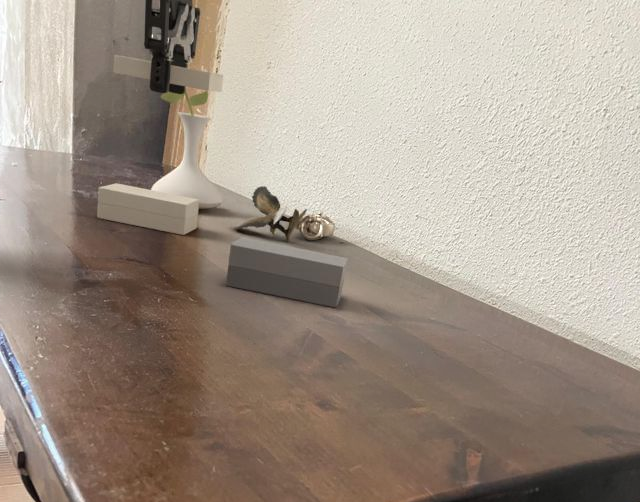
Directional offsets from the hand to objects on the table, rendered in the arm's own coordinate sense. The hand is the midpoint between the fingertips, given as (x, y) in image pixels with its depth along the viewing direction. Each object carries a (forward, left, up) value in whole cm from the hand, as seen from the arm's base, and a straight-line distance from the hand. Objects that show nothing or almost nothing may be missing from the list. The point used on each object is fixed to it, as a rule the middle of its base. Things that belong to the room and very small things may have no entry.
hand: (167, 92), depth 94 cm
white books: (-2, +2, -17) cm, 17 cm away
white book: (0, 0, +1) cm, 1 cm away
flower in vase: (-3, +21, -17) cm, 27 cm away
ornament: (+19, +16, -17) cm, 30 cm away
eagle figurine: (+13, +10, -17) cm, 24 cm away
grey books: (+21, -20, -17) cm, 34 cm away
